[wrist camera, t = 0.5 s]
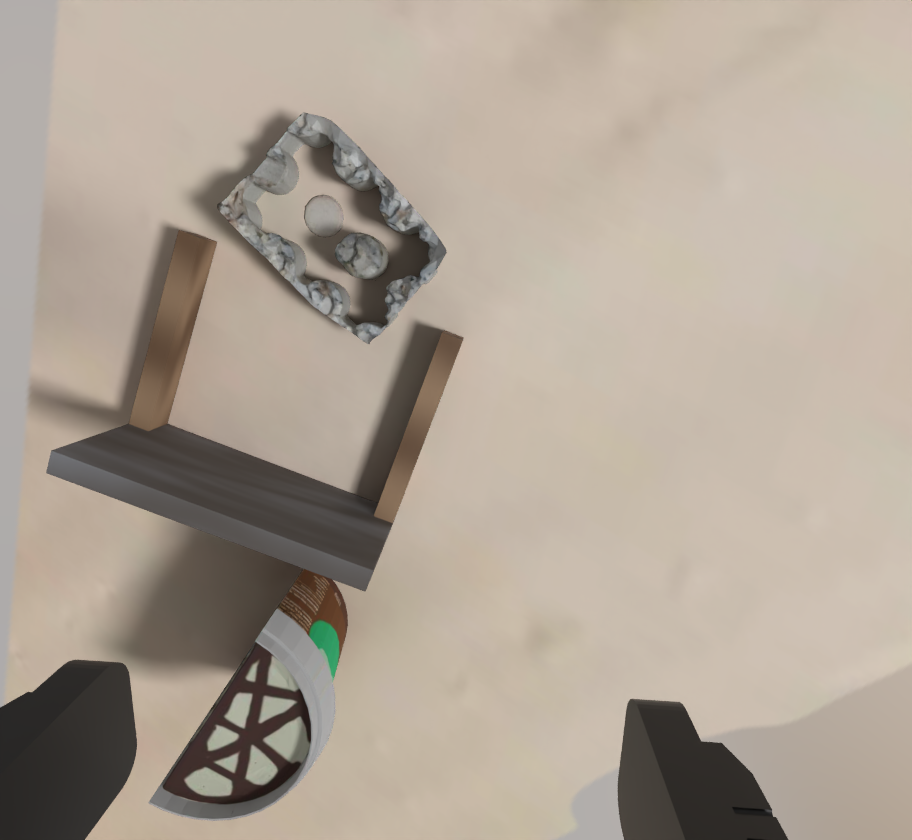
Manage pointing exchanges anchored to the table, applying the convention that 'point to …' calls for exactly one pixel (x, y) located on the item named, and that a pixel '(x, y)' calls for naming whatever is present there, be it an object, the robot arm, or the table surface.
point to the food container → (265, 713)
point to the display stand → (240, 457)
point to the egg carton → (331, 223)
